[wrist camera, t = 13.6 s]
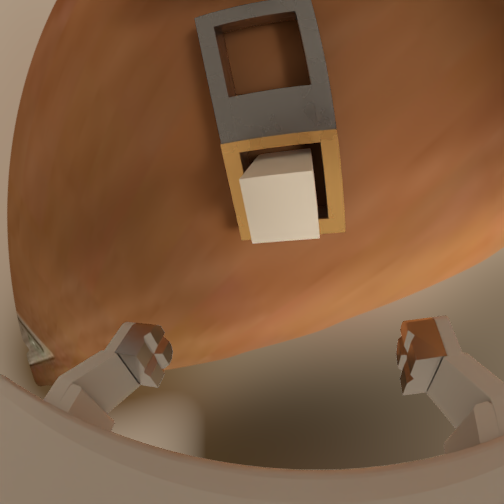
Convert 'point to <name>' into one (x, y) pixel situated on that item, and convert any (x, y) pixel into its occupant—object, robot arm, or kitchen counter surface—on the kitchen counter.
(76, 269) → the kitchen counter surface
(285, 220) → the square peg
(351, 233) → the kitchen counter surface
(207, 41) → the socket rail
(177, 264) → the kitchen counter surface
